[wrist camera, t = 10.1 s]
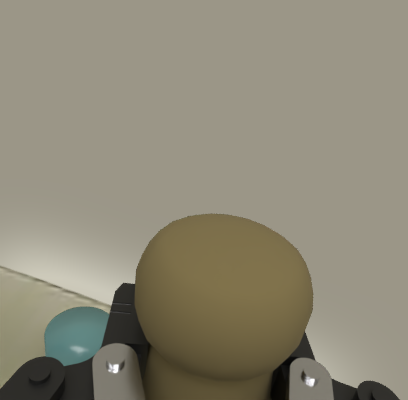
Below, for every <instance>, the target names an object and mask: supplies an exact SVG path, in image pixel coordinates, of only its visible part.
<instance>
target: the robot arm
mask: <svg viewBox="0 0 408 400" xmlns="http://www.w3.org/2000/svg"><path fill="white" fill-rule="evenodd" d="M148 346H149V342H148V341H147V339H146V337H145V335H144V332H143V330H142V328H141V325H140V323H139V321H138V317H137V313H136V309H135V284H129V283H123V284H122V285H121V286H120V287H119V288H118V289H117V290H116V291H115V294H114V299H113V303H112V306H111V310H110V314H109V318H108V322H107V326H106V330H105V334H104V338H103V341H102V345H101V347H100V349H99V350H98V351H97V353H96V354H95V355H94V356H93V357H91V358H90V359H88V360H86V361H83V362H80V363H77V364H72V365H67V366H63V364H62V363H61V362H60V361H59V360H57V359H55V358H52V357H38V358H34V359H32V360H30V361H28V362H26V363H25V364H23V365H22V366H21V367H20V368H19V369H18V370H17V371H16V372H15V373H14V375H13V376H12V377H11V378H10V379H9V380H8V381H7V382H6V383H5V385H4V386H3V387H2V388H1V389H0V400H145V395H144V390H143V384H142V380H143V377H144V374H145V370H146V362H147V354H148ZM269 400H399V399H398V397H397V396H396V395H395V394H394V393H393V392H392V391H391V390H390V389H389V388H387V387H386V386H384V385H382V384H380V383H377V382H374V381H364V382H362V383H361V384H360V385H359V386H358V388H354V387H351V386H349V385H346V384H343V383H340V382H338V381H335V380H334V379H332V378H331V376H330V374H329V372H328V371H327V370H326V368H325V367H324V366H322V365H321V364H320V363H318V362H316V361H315V358H314V355H313V352H312V349H311V347H310V344H309V341H308V339H307V336H306V333H305V332H304V334H303V337H302V339H301V342H300V344H299V346H298V347H297V348H296V349H295V350H294V352H293V353H292V354H291V355H290V356H289V357H288V358H287V359H286V360H285V361H284V362H283V363H282V364H280V365H279V366H278V367H277V368H276V369H275V370H274V371H273V376H272V383H271V391H270V399H269Z"/></svg>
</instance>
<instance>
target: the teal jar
mask: <svg viewBox="0 0 408 400" xmlns="http://www.w3.org/2000/svg"><path fill="white" fill-rule="evenodd" d="M108 318H109V314H108V313H106V312H105V311H103V310H101V309H98V308H94V307H76V308H72V309H69V310H66V311H64V312H62V313H60V314H59V315H57V316H56V317H55V318H53V319H52V320H51V322H50V323H49V324H48V326H47V328H46V331H45V355H46V357H52V358H55V359H57V360H59V361H60V362H61V363H62V364H63V366H67V365H72V364H77V363H80V362H83V361H86V360H88V359H90V358H91V357H93V356H94V355H95V354H96V353H97V351H98V350H99V349H100V347H101V345H102V341H103V338H104V334H105V330H106V326H107V322H108Z"/></svg>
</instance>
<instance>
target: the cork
mask: <svg viewBox="0 0 408 400" xmlns="http://www.w3.org/2000/svg"><path fill="white" fill-rule="evenodd" d="M312 307H313V290H312V283H311V277H310V274H309V271H308V268H307V265H306V263H305V261H304V259H303V258H302V256H301V255H300V253H299V251H298V250H297V249H296V248H295V247H294V246H293V245H292V244H291V243H290V242H288V241H287V240H286V239H285V238H284V237H282V236H281V235H280V234H278V233H276V232H275V231H273V230H271V229H269V228H268V227H266V226H264V225H262V224H260V223H257V222H254V221H251V220H249V219H245V218H241V217H237V216H232V215H224V214H203V215H194V216H188V217H185V218H182V219H179V220H176V221H173V222H172V223H170V224H168V225H167V226H166V227H164V228H163V229H161V230H160V231H159V232H158V233H157V234H156V235H155V236H154V237H153V239H152V240H151V241H150V242H149V244H148V246H147V247H146V249H145V251H144V253H143V254H142V257H141V259H140V261H139V264H138V266H137V269H136V280H135V309H136V313H137V317H138V321H139V323H140V325H141V328H142V330H143V332H144V335H145V337H146V339H147V341H148V342H149V346H148V354H147V362H146V370H145V374H144V377H143V380H142V384H143V390H144V395H145V400H269V399H270V391H271V383H272V376H273V371H274V370H275V369H276V368H277V367H278V366H279V365H280V364H282V363H283V362H284V361H285V360H286V359H287V358H288V357H289V356H290V355H291V354H292V353H293V352H294V350H295V349H296V348H297V347H298V346H299V344H300V342H301V339H302V337H303V334H304V332H305V329H306V326H307V324H308V321H309V318H310V316H311V313H312V310H313V308H312Z"/></svg>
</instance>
